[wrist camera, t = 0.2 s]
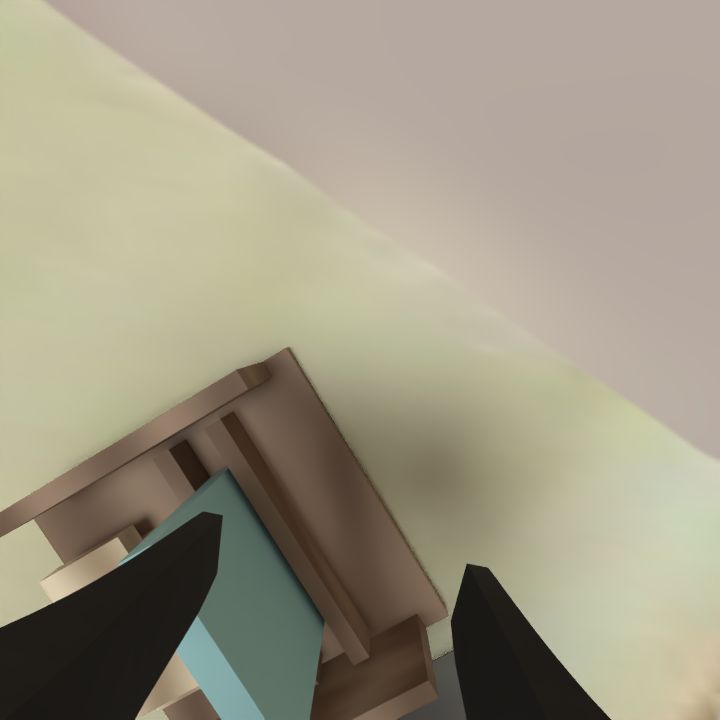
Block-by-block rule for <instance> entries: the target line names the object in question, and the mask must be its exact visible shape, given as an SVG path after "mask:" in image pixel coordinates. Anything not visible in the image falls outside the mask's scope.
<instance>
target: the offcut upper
mask: <svg viewBox="0 0 720 720" xmlns="http://www.w3.org/2000/svg"><path fill="white" fill-rule="evenodd" d="M142 541H143V539H142V538H141V536H140V535H139V533H138V532H137V530H136V529H135V527H134V525H131V526H129V527H127V528H126V529H124V530H122V531H121V532H119V533H117V534H115V535H114V536H112V537H110V538H109V539H107V540H105V541H103V542H102V543H100V544H98V545H97V546H95V547H93V548H91V549H90V550H88V551H86V552H85V553H83V554H81V555H79V556H78V557H76V558H74V559H72V560H71V561H69V562H67V563H66V564H64V565H62V566H60V567H59V568H57V569H56V570H55V571H54V572H52V573H51V574H50V575H48V576H47V577H46V578H44V579H43V580H42V581H40V582H39V583H40V584H41V586H42V587H43V589H44V590H45V592H46V593H47V595H48V596H49V598H50V599H51V600H52V602H53V603H54V602H56V601H58V600H60V599H62V598H64V597H66V596H68V595H70V594H71V593H73V592H75V591H77V590H79V589H81V588H83V587H84V586H86V585H88V584H90V583H92V582H93V581H95V580H97V579H99V578H100V577H102V576H104V575H105V574H107V573H109V572H110V571H112V570H114V569H115V568H117V567H119V565H118V563H119V562H120V561H121V560H122V559H124V558H125V557H126V556H127V555H128V554H129V553H130V552H131V551H132V550H133V549H134V548H135V547H136V546H138V545H139V544H140V543H141V542H142ZM197 686H199V685H198V684H197V682H196V681H195V679H194V678H193V676H192V675H191V673H190V672H189V670H188V669H187V667H186V666H185V664H184V663H183V661H182V660H181V658H180V657H179V655H178V654H177V652H175V653H174V655H173V656H172V658H171V660H170V661H169V663H168V665H167V666H166V668H165V670H164V671H163V673H162V675H161V676H160V678H159V680H158V681H157V683H156V685H155V686H154V688H153V690H152V691H151V693H150V694H149V696H148V698H147V699H146V701H145V703H144V704H143V706H142V708H141V710H140V712H139V713H138V715H137V717H136V719H138V718H140V717H141V716H143V715H145V714H147V713H149V712H151V711H153V710H155V709H156V708H158V707H160V706H162V705H164V704H166V703H168V702H169V701H171V700H173V699H175V698H177V697H179V696H181V695H182V694H184V693H186V692H188V691H190V690H192V689H194V688H195V687H197ZM136 719H135V720H136Z"/></svg>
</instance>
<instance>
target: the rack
mask: <svg viewBox="0 0 720 720" xmlns="http://www.w3.org/2000/svg"><path fill="white" fill-rule="evenodd" d="M227 466H228V468H229V469H230V471H231V472H232V474H233V476H234V477H235V479H236V480H237V482H238V484H239V485H240V487H241V488H242V490H243V491H244V493H245V495H246V496H247V498H248V499H249V501H250V503H251V504H252V506H253V507H254V509H255V510H256V512H257V514H258V515H259V517H260V518H261V520H262V521H263V523H264V525H265V526H266V528H267V529H268V531H269V533H270V534H271V536H272V537H273V539H274V540H275V542H276V544H277V545H278V547H279V548H280V550H281V552H282V553H283V555H284V556H285V558H286V559H287V561H288V563H289V564H290V566H291V567H292V569H293V571H294V572H295V574H296V575H297V577H298V578H299V580H300V582H301V583H302V585H303V586H304V588H305V590H306V591H307V593H308V594H309V596H310V597H311V599H312V601H313V602H314V604H315V605H316V607H317V609H318V610H319V612H320V613H321V615H322V616H323V618H324V620H325V623H324V629H323V636H322V642H321V649H320V655H319V662H318V668H317V674H316V681H315V687H314V694H313V700H312V707H311V713H310V720H396V719H398V718H400V717H402V716H404V715H406V714H408V713H410V712H411V711H413V710H415V709H417V708H419V707H421V706H423V705H425V704H427V703H429V702H431V701H433V700H435V699H437V698H439V695H438V690H437V684H436V679H435V674H434V668H433V663H432V658H431V652H430V647H429V642H428V636H427V631H426V627H428V626H430V625H432V624H434V623H436V622H438V621H440V620H441V619H443V618H445V617H447V616H448V612H447V609H446V607H445V605H444V603H443V602H442V600H441V598H440V597H439V595H438V593H437V592H436V590H435V588H434V587H433V585H432V583H431V582H430V580H429V578H428V577H427V575H426V574H425V572H424V570H423V569H422V567H421V565H420V564H419V562H418V560H417V559H416V557H415V555H414V554H413V552H412V550H411V549H410V547H409V545H408V544H407V542H406V541H405V539H404V537H403V536H402V534H401V532H400V531H399V529H398V527H397V526H396V524H395V522H394V521H393V519H392V517H391V516H390V514H389V512H388V511H387V509H386V508H385V506H384V504H383V503H382V501H381V499H380V498H379V496H378V494H377V493H376V491H375V489H374V488H373V486H372V484H371V483H370V481H369V480H368V478H367V476H366V475H365V473H364V471H363V470H362V468H361V466H360V465H359V463H358V461H357V460H356V458H355V456H354V455H353V453H352V451H351V450H350V448H349V447H348V445H347V443H346V442H345V440H344V438H343V437H342V435H341V433H340V432H339V430H338V428H337V427H336V425H335V423H334V422H333V420H332V418H331V417H330V415H329V414H328V412H327V410H326V409H325V407H324V405H323V404H322V402H321V400H320V399H319V397H318V395H317V394H316V392H315V390H314V389H313V387H312V386H311V384H310V382H309V381H308V379H307V377H306V376H305V374H304V372H303V371H302V369H301V367H300V366H299V364H298V362H297V361H296V359H295V357H294V356H293V354H292V353H291V351H290V349H289V348H285V349H284V350H282V351H280V352H279V353H277V354H275V355H274V356H272V357H270V358H269V359H267V360H265V361H264V362H261V363H258V364H254V365H251V366H248V367H244V368H241V369H238V370H235V371H234V372H232V373H230V374H229V375H227V376H225V377H224V378H222V379H220V380H219V381H217V382H215V383H214V384H212V385H211V386H209V387H207V388H206V389H204V390H202V391H201V392H199V393H197V394H196V395H194V396H192V397H191V398H189V399H187V400H186V401H184V402H182V403H181V404H179V405H177V406H176V407H174V408H172V409H171V410H169V411H167V412H166V413H164V414H162V415H161V416H159V417H157V418H156V419H154V420H152V421H151V422H149V423H147V424H146V425H144V426H142V427H141V428H139V429H138V430H136V431H134V432H133V433H131V434H129V435H128V436H126V437H124V438H123V439H121V440H119V441H118V442H116V443H114V444H113V445H111V446H109V447H108V448H106V449H104V450H103V451H101V452H99V453H98V454H96V455H94V456H93V457H91V458H89V459H88V460H86V461H84V462H83V463H81V464H79V465H78V466H76V467H74V468H73V469H71V470H69V471H68V472H66V473H65V474H63V475H61V476H60V477H58V478H56V479H55V480H53V481H51V482H50V483H48V484H46V485H45V486H43V487H41V488H40V489H38V490H36V491H35V492H33V493H31V494H30V495H28V496H26V497H25V498H23V499H21V500H20V501H18V502H16V503H15V504H13V505H11V506H10V507H8V508H6V509H5V510H3V511H1V512H0V537H2V536H4V535H5V534H7V533H9V532H11V531H13V530H14V529H16V528H18V527H20V526H21V525H23V524H25V523H27V522H29V521H30V520H32V519H34V520H35V522H36V523H37V525H38V526H39V528H40V529H41V531H42V532H43V533H44V535H45V536H46V538H47V539H48V541H49V542H50V544H51V545H52V547H53V548H54V550H55V551H56V553H57V554H58V556H59V557H60V559H61V560H62V562H63V563H64V564H66V563H67V562H69V561H71V560H72V559H74V558H76V557H78V556H79V555H81V554H83V553H85V552H86V551H88V550H90V549H91V548H93V547H95V546H97V545H98V544H100V543H102V542H103V541H105V540H107V539H109V538H110V537H112V536H114V535H115V534H117V533H119V532H121V531H122V530H124V529H126V528H127V527H129V526H131V525H134V527H135V529H136V530H137V532H138V533H139V535H140V536H142V535H144V534H146V533H147V532H149V531H151V530H153V529H154V528H157V527H158V526H159V525H160V524H161V523H162V522H163V521H164V520H165V519H167V518H168V517H169V516H170V515H171V514H172V513H173V512H174V511H175V510H176V509H177V508H178V507H179V506H181V505H182V504H183V503H184V502H185V501H186V500H187V499H188V498H189V497H190V496H191V495H192V494H193V493H195V492H196V491H197V490H198V489H199V488H200V487H201V486H202V485H203V484H204V483H205V482H206V481H207V480H208V479H210V478H211V477H212V476H213V475H214V474H215V473H216V472H218V471H220V470H221V469H223V468H225V467H227ZM163 711H164V712H165V714H166V715H167V717H168V718H169V720H221V718H220V717H219V715H218V714H217V712H216V711H215V709H214V708H213V706H212V705H211V703H210V702H209V700H208V699H207V697H206V696H205V694H204V693H203V691H202V690H201V689H199V690H197V691H195V692H193V693H191V694H190V695H188V696H186V697H184V698H182V699H180V700H178V701H177V702H175V703H173V704H171V705H169V706H167V707H165V708H164V709H163Z"/></svg>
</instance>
